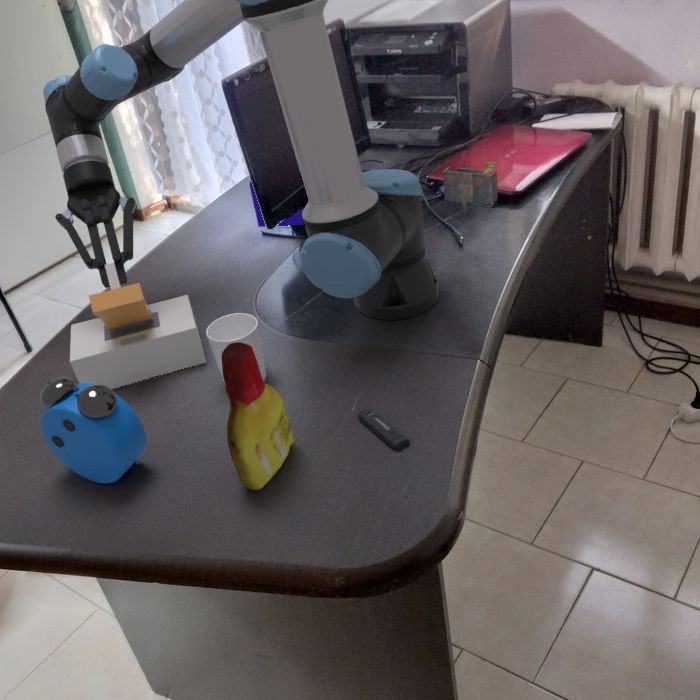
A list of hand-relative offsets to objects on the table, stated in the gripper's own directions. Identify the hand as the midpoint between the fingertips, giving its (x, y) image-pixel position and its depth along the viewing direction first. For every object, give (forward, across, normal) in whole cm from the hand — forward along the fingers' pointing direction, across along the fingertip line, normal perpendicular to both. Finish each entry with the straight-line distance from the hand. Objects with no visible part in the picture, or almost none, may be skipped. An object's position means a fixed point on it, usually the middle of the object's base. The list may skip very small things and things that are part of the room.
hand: (120, 304), depth 116 cm
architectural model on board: (-12, -74, -30) cm, 81 cm away
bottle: (+32, -15, +16) cm, 39 cm away
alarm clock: (+26, +6, +9) cm, 28 cm away
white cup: (+17, -16, 0) cm, 23 cm away
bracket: (-25, -39, -44) cm, 64 cm away
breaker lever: (+2, 0, -4) cm, 4 cm away
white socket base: (+8, 0, -10) cm, 12 cm away
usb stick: (+32, -32, +16) cm, 48 cm away
